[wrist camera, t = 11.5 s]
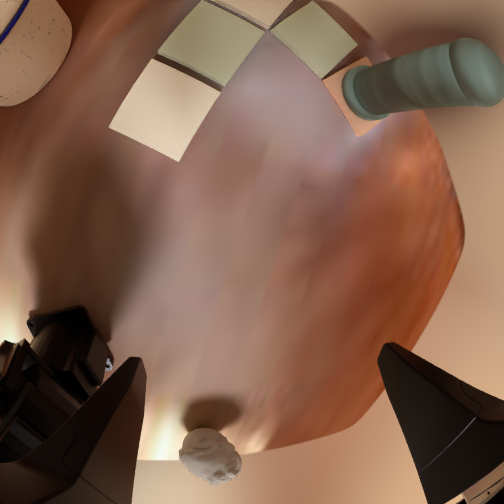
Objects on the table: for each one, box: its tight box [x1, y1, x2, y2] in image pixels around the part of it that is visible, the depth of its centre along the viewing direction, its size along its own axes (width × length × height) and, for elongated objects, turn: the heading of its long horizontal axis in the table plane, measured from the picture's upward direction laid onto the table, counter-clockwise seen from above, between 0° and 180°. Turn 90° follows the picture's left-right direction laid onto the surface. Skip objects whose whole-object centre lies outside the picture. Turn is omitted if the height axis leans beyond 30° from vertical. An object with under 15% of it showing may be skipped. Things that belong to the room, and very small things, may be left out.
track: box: [109, 0, 391, 162], centre depth 16 cm, size 23×17×1 cm
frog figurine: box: [179, 428, 242, 485], centre depth 23 cm, size 6×7×7 cm
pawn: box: [342, 38, 504, 121], centre depth 13 cm, size 5×5×13 cm
